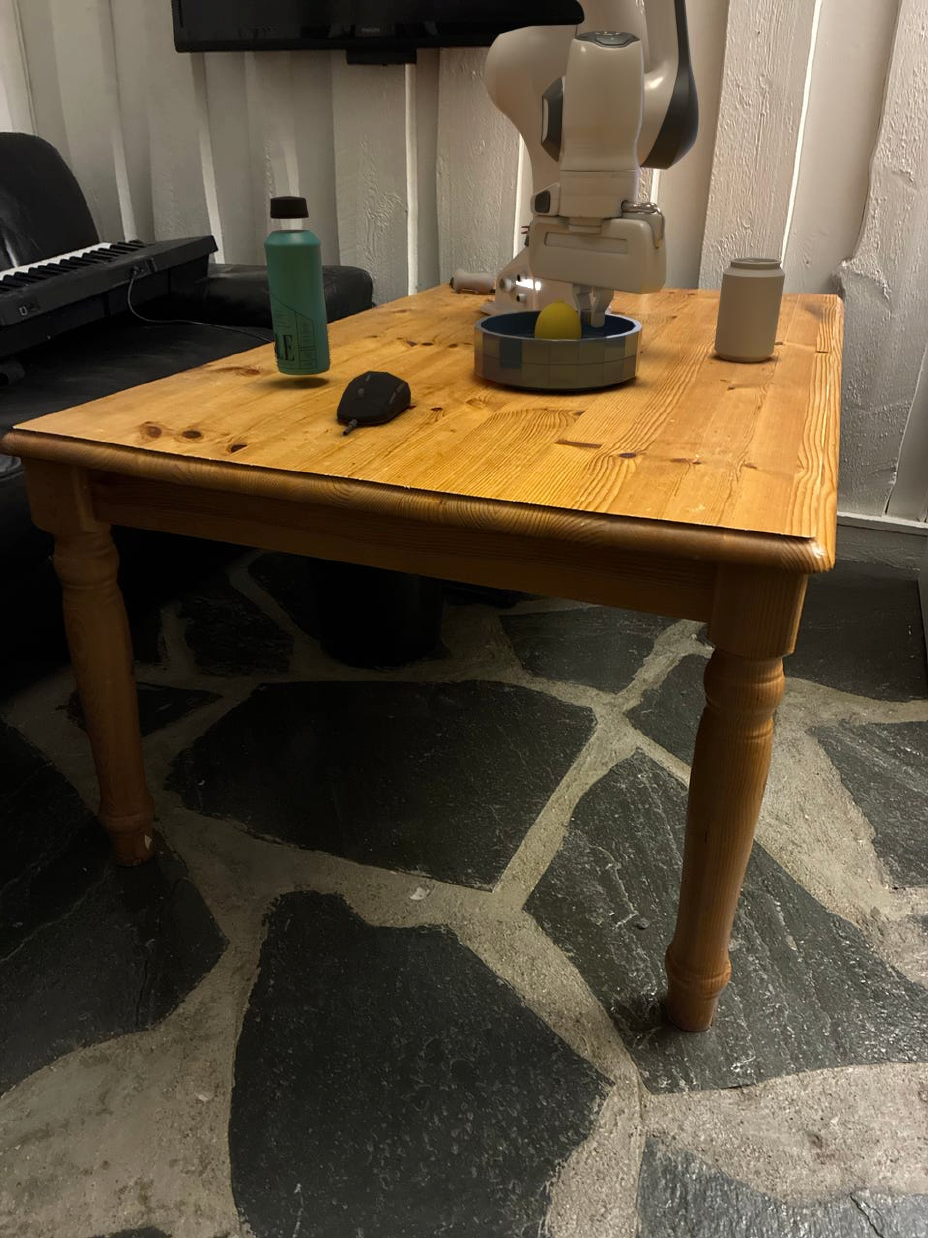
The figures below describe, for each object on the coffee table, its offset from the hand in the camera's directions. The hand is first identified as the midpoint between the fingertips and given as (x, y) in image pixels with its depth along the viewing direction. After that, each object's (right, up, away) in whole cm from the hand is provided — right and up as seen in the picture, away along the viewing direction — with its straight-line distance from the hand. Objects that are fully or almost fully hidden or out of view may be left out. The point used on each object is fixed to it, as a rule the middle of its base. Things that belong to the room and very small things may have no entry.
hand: (590, 325), depth 109 cm
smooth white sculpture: (-13, +25, +59) cm, 65 cm away
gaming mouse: (-25, -14, -15) cm, 32 cm away
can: (+21, -2, +9) cm, 23 cm away
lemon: (-4, -5, 0) cm, 7 cm away
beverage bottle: (-34, -8, -2) cm, 35 cm away
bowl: (-4, -6, 0) cm, 7 cm away
